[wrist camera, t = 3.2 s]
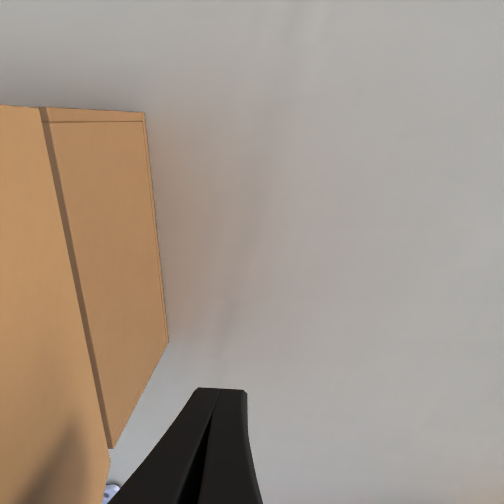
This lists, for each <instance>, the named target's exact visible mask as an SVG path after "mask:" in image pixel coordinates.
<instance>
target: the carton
mask: <svg viewBox="0 0 504 504" xmlns="http://www.w3.org/2000/svg"><path fill="white" fill-rule="evenodd" d="M33 108H38V109H39V112H40V117H41V122H42V127H43V132H44V137H45V142H46V147H47V151H48V156H49V161H50V166H51V171H52V176H53V181H54V186H55V191H56V196H57V201H58V206H59V211H60V216H61V220H62V225H63V230H64V235H65V240H66V245H67V250H68V255H69V260H70V265H71V270H72V275H73V280H74V285H75V289H76V294H77V299H78V304H79V309H80V314H81V319H82V324H83V329H84V334H85V339H86V344H87V349H88V354H89V359H90V363H91V368H92V373H93V378H94V383H95V388H96V393H97V398H98V403H99V408H100V413H101V418H102V423H103V428H104V432H105V437H106V442H107V447H108V449H114V447H115V445H116V443H117V441H118V439H119V437H120V435H121V433H122V431H123V429H124V427H125V426H126V424H127V422H128V420H129V418H130V416H131V414H132V412H133V410H134V408H135V406H136V404H137V402H138V400H139V398H140V396H141V394H142V393H143V391H144V389H145V387H146V385H147V383H148V381H149V379H150V377H151V375H152V373H153V371H154V369H155V367H156V365H157V363H158V361H159V359H160V358H161V356H162V354H163V352H164V350H165V348H166V346H167V344H168V342H169V340H168V331H167V321H166V312H165V303H164V293H163V284H162V274H161V265H160V255H159V246H158V236H157V227H156V218H155V208H154V199H153V189H152V180H151V170H150V161H149V151H148V142H147V133H146V123H145V114H144V113H143V112H126V111H109V110H92V109H75V108H57V107H33Z"/></svg>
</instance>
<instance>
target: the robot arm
mask: <svg viewBox="0 0 504 504" xmlns="http://www.w3.org/2000/svg"><path fill="white" fill-rule="evenodd" d="M102 504H263V502H262V498H261V494H260V490H259V486H258V482H257V478H256V473H255V469H254V464H253V459H252V454H251V449H250V443H249V437H248V414H247V393H246V392H245V391H244V390H236V389H218V388H200V387H198V388H197V389H196V390H195V391H194V392H193V394H192V396H191V397H190V399H189V400H188V402H187V403H186V405H185V406H184V408H183V409H182V411H181V412H180V413H179V415H178V416H177V418H176V419H175V421H174V422H173V423H172V425H171V426H170V427H169V429H168V430H167V432H166V433H165V434H164V435H163V437H162V438H161V439H160V441H159V442H158V443H157V445H156V446H155V447H154V448H153V450H152V451H151V452H150V454H149V455H148V456H147V457H146V459H145V460H144V461H143V462H142V463H141V465H140V466H139V467H138V468H137V469H136V471H135V472H134V473H133V474H132V475H131V476H130V478H129V479H128V480H127V481H126V482H125V484H124V485H123V486H122V487H121V488H119V487H118V486H117V485H106V486H105V490H104V495H103V500H102Z"/></svg>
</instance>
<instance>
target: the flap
mask: <svg viewBox="0 0 504 504" xmlns="http://www.w3.org/2000/svg"><path fill="white" fill-rule="evenodd" d="M109 467H110V457H109V452H108V447H107V442H106V437H105V432H104V428H103V423H102V418H101V413H100V408H99V403H98V398H97V393H96V388H95V383H94V378H93V373H92V368H91V363H90V359H89V354H88V349H87V344H86V339H85V334H84V329H83V324H82V319H81V314H80V309H79V304H78V299H77V294H76V289H75V285H74V280H73V275H72V270H71V265H70V260H69V255H68V250H67V245H66V240H65V235H64V230H63V225H62V220H61V216H60V211H59V206H58V201H57V196H56V191H55V186H54V181H53V176H52V171H51V166H50V161H49V156H48V151H47V147H46V142H45V137H44V132H43V127H42V122H41V117H40V112H39V109H38V108H33V107H22V106H11V105H0V504H102V500H103V495H104V490H105V486H106V481H107V476H108V472H109Z"/></svg>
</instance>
